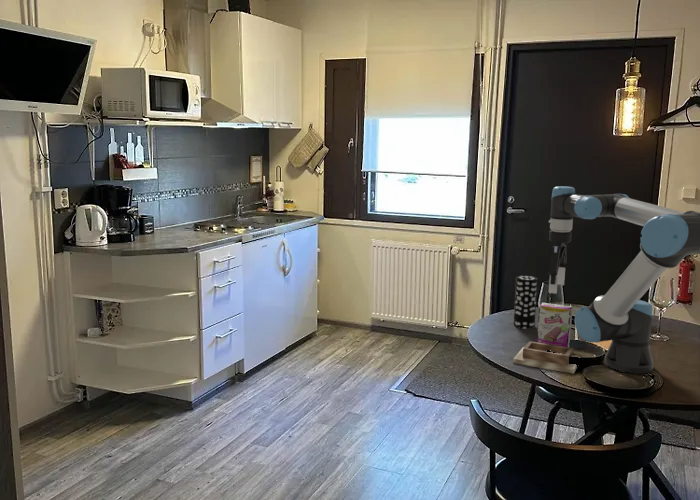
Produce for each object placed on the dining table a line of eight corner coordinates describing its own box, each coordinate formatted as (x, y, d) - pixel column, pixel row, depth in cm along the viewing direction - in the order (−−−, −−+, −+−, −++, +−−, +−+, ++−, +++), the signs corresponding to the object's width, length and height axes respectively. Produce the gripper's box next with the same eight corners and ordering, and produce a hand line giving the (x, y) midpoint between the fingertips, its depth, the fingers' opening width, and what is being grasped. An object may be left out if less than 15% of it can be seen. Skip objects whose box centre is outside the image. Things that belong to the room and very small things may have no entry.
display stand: (580, 360, 224) (581, 347, 223) (573, 373, 211) (574, 359, 211) (523, 350, 233) (523, 338, 232) (513, 362, 221) (513, 349, 220)
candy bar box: (535, 348, 235) (538, 305, 232) (538, 344, 240) (541, 301, 237) (567, 353, 231) (571, 309, 227) (569, 349, 235) (572, 305, 232)
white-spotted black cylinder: (535, 329, 258) (538, 280, 254) (513, 327, 259) (516, 279, 256) (533, 323, 266) (536, 276, 262) (513, 321, 267) (515, 275, 264)
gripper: (556, 224, 239) (552, 280, 244) (542, 234, 218) (538, 295, 222) (577, 226, 236) (573, 282, 240) (565, 236, 214) (560, 298, 219)
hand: (556, 288), depth 231 cm, fingers open, 13 cm apart
